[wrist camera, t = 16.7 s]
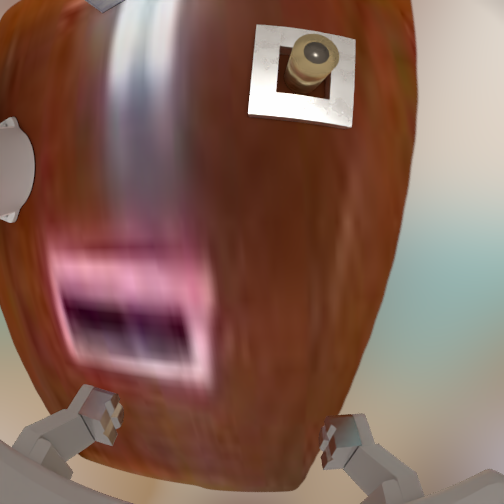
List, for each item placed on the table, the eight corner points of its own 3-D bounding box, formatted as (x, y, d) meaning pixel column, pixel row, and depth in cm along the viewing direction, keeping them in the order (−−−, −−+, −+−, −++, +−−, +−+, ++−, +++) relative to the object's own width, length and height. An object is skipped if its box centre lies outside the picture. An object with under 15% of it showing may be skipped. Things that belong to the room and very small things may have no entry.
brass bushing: (282, 91, 31) (291, 69, 22) (285, 61, 30) (294, 30, 20) (317, 96, 31) (338, 77, 22) (319, 65, 30) (340, 38, 20)
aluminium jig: (249, 117, 32) (248, 113, 29) (256, 33, 28) (256, 24, 25) (344, 129, 32) (351, 127, 29) (348, 47, 28) (355, 39, 26)
